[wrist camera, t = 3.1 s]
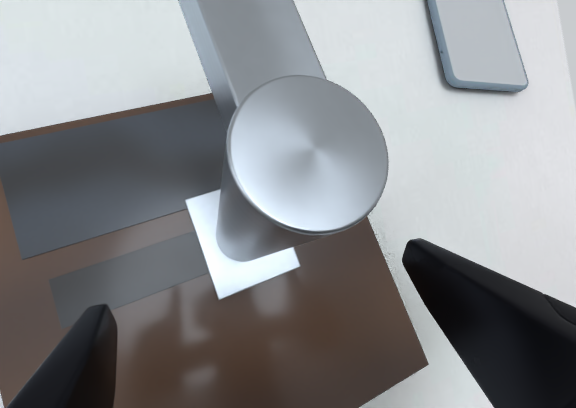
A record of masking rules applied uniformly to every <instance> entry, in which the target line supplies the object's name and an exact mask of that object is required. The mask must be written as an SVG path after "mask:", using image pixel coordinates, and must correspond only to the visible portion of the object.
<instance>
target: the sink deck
mask: <svg viewBox="0 0 576 408" xmlns="http://www.w3.org/2000/svg"><path fill="white" fill-rule="evenodd" d="M226 139H227V131H226V129H225V126H224V123H223V121H222V118H221V115H220V113H219V110H218V107H217V104H216V102H215V99H214V96H213V94H212V93H210V94H205V95H200V96H195V97H190V98H185V99H180V100H175V101H170V102H165V103H160V104H155V105H150V106H146V107H141V108H136V109H131V110H126V111H121V112H116V113H111V114H106V115H101V116H96V117H91V118H86V119H81V120H76V121H71V122H66V123H61V124H56V125H51V126H46V127H41V128H36V129H31V130H26V131H21V132H16V133H11V134H6V135H1V136H0V392H1V396H2V400H3V405H4V408H6V407H7V406H8V404H9V403H10V402H11V401H12V400H13V398H14V397H15V396H16V395H17V393H18V392H19V391H20V390H21V388H22V387H23V386H24V385H25V384H26V382H27V381H28V380H29V379H30V377H31V376H32V375H33V374H34V373H35V371H36V370H37V369H38V368H39V366H40V365H41V364H42V363H43V361H44V360H45V359H46V358H47V357H48V355H49V354H50V353H51V352H52V350H53V349H54V348H55V347H56V346H57V344H58V343H59V342H60V341H61V339H62V338H63V337H64V336H65V334H66V333H67V332H68V331H69V330H70V328H71V327H72V326H73V325H74V323H75V322H76V321H77V320H78V319H79V317H80V316H81V315H82V314H83V312H84V311H85V310H86V309H87V308H88V307H90V306H95V305H99V304H107V305H108V306H109V307H110V310H111V312H112V314H113V316H114V318H115V321H116V323H117V328H118V338H117V365H116V388H115V398H114V405H113V408H359V407H360V406H362V405H363V404H365V403H367V402H368V401H370V400H372V399H373V398H375V397H376V396H378V395H380V394H381V393H383V392H385V391H386V390H388V389H390V388H391V387H393V386H394V385H396V384H398V383H399V382H401V381H403V380H404V379H406V378H408V377H409V376H411V375H412V374H414V373H416V372H417V371H419V370H421V369H422V368H424V367H425V366H427V365H428V361H427V359H426V357H425V354H424V352H423V349H422V347H421V345H420V342H419V340H418V337H417V335H416V333H415V330H414V328H413V325H412V323H411V321H410V318H409V316H408V313H407V311H406V309H405V306H404V304H403V301H402V299H401V297H400V294H399V292H398V289H397V287H396V285H395V282H394V280H393V277H392V275H391V273H390V270H389V268H388V265H387V263H386V261H385V258H384V256H383V253H382V251H381V249H380V246H379V244H378V241H377V239H376V237H375V234H374V232H373V229H372V227H371V225H370V222H369V220H368V217H367V216H366V217H365V218H364V219H363V220H362V221H360V222H359V223H357V224H356V225H354V226H353V227H350V228H348V229H346V230H344V231H341V232H338V233H335V234H332V235H329V236H326V237H323V238H320V239H316V240H313V241H310V242H307V243H304V244H301V245H298V246H295V247H294V250H295V252H296V255H297V257H298V260H299V263H300V265H301V266H300V267H298V268H296V269H294V270H291V271H289V272H286V273H284V274H282V275H279V276H277V277H274V278H272V279H269V280H267V281H265V282H262V283H260V284H257V285H255V286H253V287H250V288H248V289H245V290H243V291H241V292H238V293H236V294H233V295H231V296H228V297H226V298H224V299H221V300H218V297H217V294H216V291H215V288H214V285H213V282H212V279H211V276H210V273H209V270H208V267H207V264H206V261H205V258H204V256H203V253H202V250H201V247H200V244H199V241H198V238H197V235H196V232H195V229H194V226H193V223H192V220H191V217H190V214H189V211H188V208H187V205H186V202H185V200H186V199H189V198H192V197H195V196H199V195H202V194H205V193H209V192H212V191H215V190H218V189H221V182H222V173H223V164H224V156H225V147H226Z"/></svg>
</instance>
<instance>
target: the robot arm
mask: <svg viewBox="0 0 576 408" xmlns="http://www.w3.org/2000/svg"><path fill="white" fill-rule="evenodd" d="M402 263H403V266H404V267H405V269H406V271H407V273H408V275H409V277H410V278H411V280H412V282H413V284H414V286H415V288H416V290H417V291H418V293H419V295H420V297H421V299H422V300H423V302H424V304H425V306H426V307H427V309H428V310H429V312H430V313H431V315H432V316H433V318H434V319H435V321H436V322H437V324H438V325H439V327H440V328H441V330H442V331H443V333H444V334H445V336H446V337H447V338H448V340H449V341H450V343H451V344H452V346H453V347H454V349H455V350H456V352H457V353H458V355H459V356H460V358H461V359H462V361H463V362H464V364H465V365H466V367H467V368H468V370H469V371H470V373H471V374H472V376H473V377H474V379H475V380H476V382H477V383H478V385H479V386H480V387H481V389H482V390H483V392H484V393H485V395H486V396H487V398H488V399H489V401H490V402H491V404H492V405H493V407H494V408H576V308H575V307H573V306H571V305H568V304H566V303H564V302H561V301H559V300H557V299H555V298H552V297H550V296H548V295H546V294H542V293H541V292H539V291H537V290H535V289H532V288H530V287H528V286H526V285H524V284H521V283H519V282H517V281H515V280H512V279H510V278H508V277H506V276H504V275H501V274H499V273H497V272H495V271H492V270H490V269H488V268H486V267H484V266H481V265H479V264H477V263H475V262H472V261H470V260H468V259H466V258H464V257H461V256H459V255H457V254H455V253H452V252H450V251H448V250H446V249H444V248H441V247H439V246H437V245H435V244H432V243H430V242H428V241H426V240H424V239H421V238H418V239H413V240H409V241H408V242H407V245H406V248H405V251H404V254H403V257H402ZM117 338H118V328H117V323H116V321H115V318H114V316H113V314H112V312H111V310H110V307H109V306H108V305H107V304H99V305H95V306H90V307H88V308H87V309H86V310H85V311H84V312H83V314H82V315H81V316H80V317H79V319H78V320H77V321H76V322H75V323H74V325H73V326H72V327H71V328H70V330H69V331H68V332H67V333H66V334H65V336H64V337H63V338H62V339H61V341H60V342H59V343H58V344H57V346H56V347H55V348H54V349H53V350H52V352H51V353H50V354H49V355H48V357H47V358H46V359H45V360H44V361H43V363H42V364H41V365H40V366H39V368H38V369H37V370H36V371H35V373H34V374H33V375H32V376H31V377H30V379H29V380H28V381H27V382H26V384H25V385H24V386H23V387H22V388H21V390H20V391H19V392H18V393H17V395H16V396H15V397H14V398H13V400H12V401H11V402H10V403H9V404H8V406H7V407H6V408H113V405H114V398H115V388H116V365H117Z"/></svg>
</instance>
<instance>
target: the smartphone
mask: <svg viewBox="0 0 576 408" xmlns="http://www.w3.org/2000/svg"><path fill="white" fill-rule="evenodd" d="M427 2H428V6H429V11H430V15H431V19H432V23H433V27H434V32H435V36H436V40H437V44H438V48H439V52H440V57H441V61H442V65H443V69H444V73H445V78H446V80H447V82H448V83H449V84H450V85H451V86H453V87H458V88H472V89H486V90H499V91H513V92H520V91H522V90H524V89H525V88H527V86H528V79H527V75H526V72H525V69H524V66H523V62H522V59H521V56H520V53H519V49H518V46H517V43H516V39H515V36H514V33H513V30H512V26H511V23H510V20H509V17H508V13H507V10H506V7H505V4H504V0H427Z"/></svg>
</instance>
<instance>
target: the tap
mask: <svg viewBox="0 0 576 408" xmlns="http://www.w3.org/2000/svg"><path fill="white" fill-rule="evenodd" d="M178 1H179V4H180V7H181V10H182V12H183V15H184V18H185V20H186V23H187V26H188V29H189V31H190V34H191V37H192V39H193V42H194V45H195V47H196V50H197V53H198V56H199V58H200V61H201V64H202V66H203V69H204V72H205V75H206V77H207V80H208V83H209V85H210V88H211V91H212V94H213V96H214V99H215V102H216V104H217V107H218V110H219V113H220V115H221V118H222V121H223V123H224V126H225V129H226V131H227V139H226V147H225V156H224V164H223V173H222V182H221V189H218V190H215V191H212V192H209V193H205V194H202V195H199V196H195V197H192V198H189V199H186V200H185V202H186V205H187V208H188V211H189V214H190V217H191V220H192V223H193V226H194V229H195V232H196V235H197V238H198V241H199V244H200V247H201V250H202V253H203V256H204V258H205V261H206V264H207V267H208V270H209V273H210V276H211V279H212V282H213V285H214V288H215V291H216V294H217V297H218V300H221V299H224V298H226V297H228V296H231V295H233V294H236V293H238V292H241V291H243V290H245V289H248V288H250V287H253V286H255V285H257V284H260V283H262V282H265V281H267V280H269V279H272V278H274V277H277V276H279V275H282V274H284V273H286V272H289V271H291V270H294V269H296V268H298V267H300V266H301V265H300V263H299V260H298V257H297V255H296V252H295V250H294V247H295V246H298V245H301V244H304V243H307V242H310V241H313V240H316V239H320V238H323V237H326V236H329V235H332V234H335V233H338V232H341V231H344V230H346V229H348V228H350V227H353V226H354V225H356V224H357V223H359V222H360V221H362V220H363V219H364V218H365V217H366V216H367V215H368V214H369V213H370V212H371V211H372V210H373V208H374V207H375V206H376V204H377V202H378V201H379V199H380V197H381V195H382V193H383V190H384V188H385V184H386V180H387V175H388V152H387V146H386V142H385V139H384V136H383V133H382V131H381V129H380V127H379V125H378V123H377V121H376V119H375V118H374V116H373V115H372V113H371V112H370V111H369V110H368V108H367V107H366V106H365V105H364V104H363V103H362V102H361V101H360V100H359V99H358V98H357V97H356V96H354V95H353V94H352V93H351V92H349V91H348V90H346V89H345V88H343V87H341V86H339V85H337V84H335V83H333V82H331V81H328V80H327V79H326V76H325V74H324V72H323V69H322V67H321V65H320V62H319V60H318V58H317V55H316V53H315V51H314V48H313V46H312V44H311V41H310V39H309V36H308V34H307V32H306V29H305V27H304V25H303V22H302V20H301V18H300V15H299V13H298V11H297V8H296V6H295V3H294V1H293V0H178Z"/></svg>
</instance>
